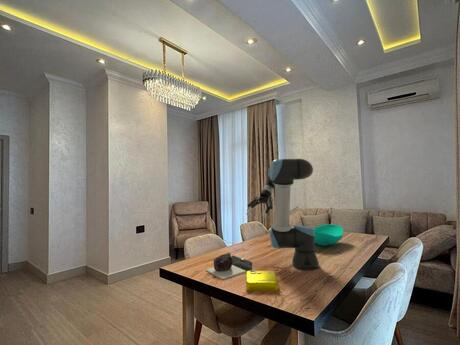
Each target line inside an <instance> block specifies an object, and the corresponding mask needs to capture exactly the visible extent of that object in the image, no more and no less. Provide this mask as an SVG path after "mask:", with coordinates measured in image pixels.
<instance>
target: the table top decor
mask: <svg viewBox="0 0 460 345" xmlns="http://www.w3.org/2000/svg"><path fill="white" fill-rule="evenodd" d="M313 229H314V234H315V244H317V245H318V246H324V247H325V246H331V245H334V244H336V243H338V242H339V241H341V240H342V238H343V236H344V233H345V231H344V228H343V226H342V225H338V224H330V223H329V224H328V223H327V224H322V225H319V226H316V227H314V228H313Z"/></svg>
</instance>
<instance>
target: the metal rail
mask: <svg viewBox="0 0 460 345" xmlns="http://www.w3.org/2000/svg"><path fill="white" fill-rule="evenodd" d="M231 257H232V261H233V263H232V265H234V266H236V267H238V268H241V269H243V270H245V271H253V262H252V261H250V260H247V259H244V258H241V257H239V256H235V255H231Z"/></svg>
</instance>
